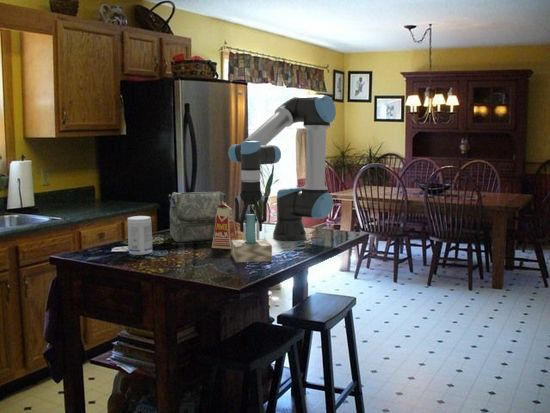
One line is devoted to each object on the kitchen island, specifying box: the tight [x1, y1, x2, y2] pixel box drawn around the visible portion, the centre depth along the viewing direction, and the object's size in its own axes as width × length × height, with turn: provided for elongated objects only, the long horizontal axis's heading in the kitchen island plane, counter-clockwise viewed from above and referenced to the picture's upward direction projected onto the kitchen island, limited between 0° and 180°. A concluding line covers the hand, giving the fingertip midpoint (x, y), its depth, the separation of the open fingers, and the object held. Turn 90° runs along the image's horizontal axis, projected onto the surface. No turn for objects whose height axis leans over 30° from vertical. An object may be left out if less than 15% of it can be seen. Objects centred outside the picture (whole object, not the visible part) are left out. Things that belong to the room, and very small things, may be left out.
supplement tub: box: [127, 215, 153, 256], centre depth 253 cm, size 10×10×15 cm
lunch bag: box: [168, 190, 226, 243], centre depth 284 cm, size 26×18×22 cm
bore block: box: [230, 238, 273, 263], centre depth 245 cm, size 14×14×6 cm
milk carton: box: [211, 201, 237, 250], centre depth 266 cm, size 9×9×20 cm
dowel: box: [245, 213, 256, 244], centre depth 244 cm, size 4×4×15 cm
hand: (251, 239), depth 244 cm, fingers open, 5 cm apart
